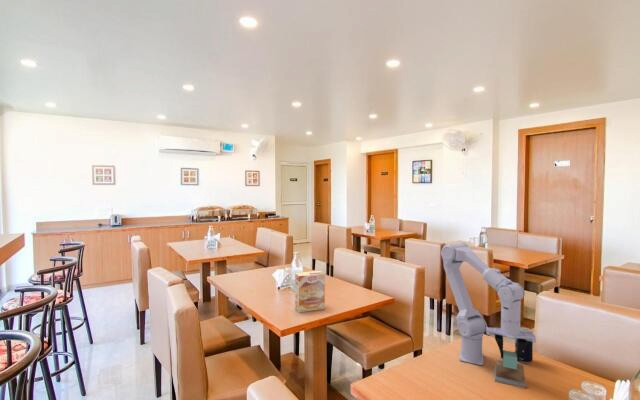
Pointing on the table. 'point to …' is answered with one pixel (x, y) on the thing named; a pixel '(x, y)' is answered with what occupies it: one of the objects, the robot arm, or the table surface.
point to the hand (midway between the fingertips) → (509, 358)
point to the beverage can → (526, 348)
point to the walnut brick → (509, 372)
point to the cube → (509, 359)
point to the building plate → (509, 380)
